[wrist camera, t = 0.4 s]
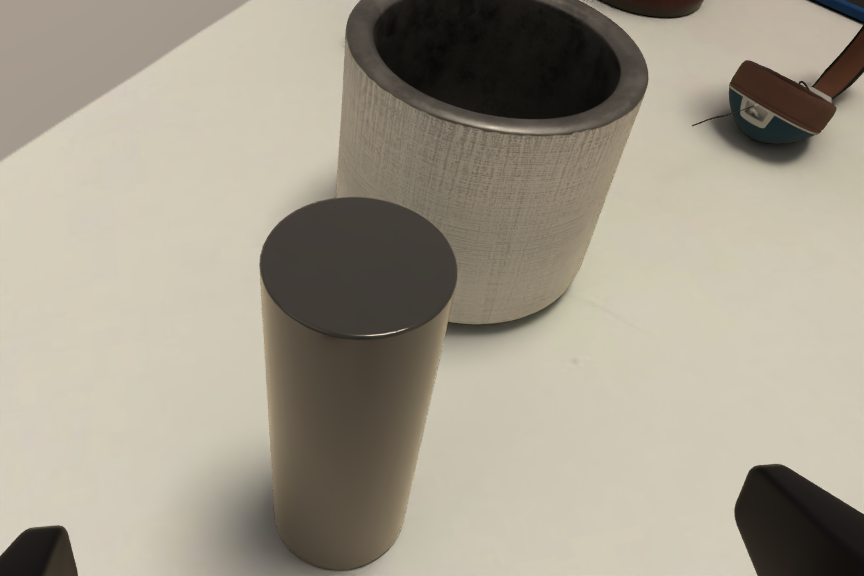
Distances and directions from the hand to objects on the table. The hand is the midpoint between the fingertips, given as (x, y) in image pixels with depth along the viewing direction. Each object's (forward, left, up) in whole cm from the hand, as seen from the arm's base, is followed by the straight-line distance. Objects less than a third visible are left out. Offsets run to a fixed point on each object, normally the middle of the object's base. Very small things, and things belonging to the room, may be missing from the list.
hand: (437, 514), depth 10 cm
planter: (+22, -7, -17) cm, 29 cm away
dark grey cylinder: (+8, 0, -17) cm, 19 cm away
